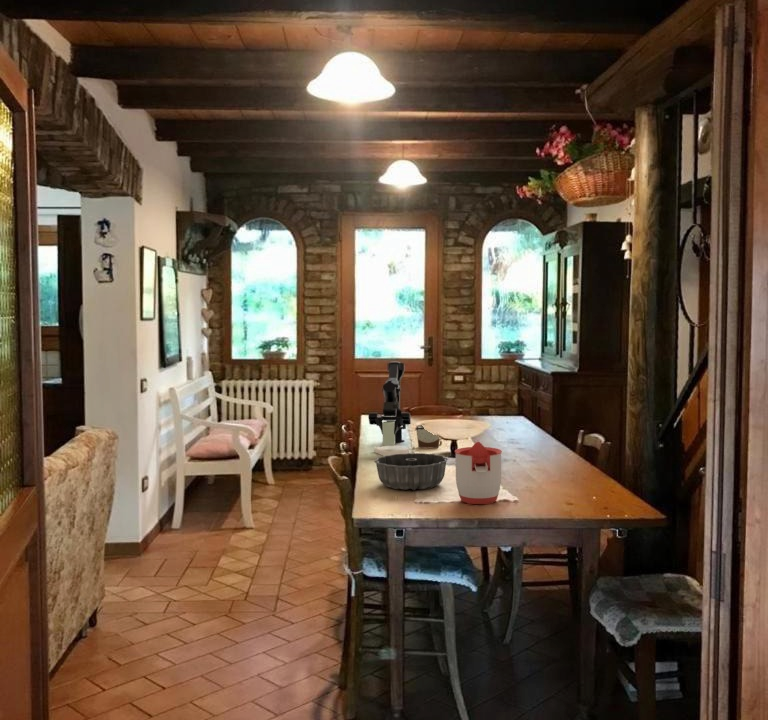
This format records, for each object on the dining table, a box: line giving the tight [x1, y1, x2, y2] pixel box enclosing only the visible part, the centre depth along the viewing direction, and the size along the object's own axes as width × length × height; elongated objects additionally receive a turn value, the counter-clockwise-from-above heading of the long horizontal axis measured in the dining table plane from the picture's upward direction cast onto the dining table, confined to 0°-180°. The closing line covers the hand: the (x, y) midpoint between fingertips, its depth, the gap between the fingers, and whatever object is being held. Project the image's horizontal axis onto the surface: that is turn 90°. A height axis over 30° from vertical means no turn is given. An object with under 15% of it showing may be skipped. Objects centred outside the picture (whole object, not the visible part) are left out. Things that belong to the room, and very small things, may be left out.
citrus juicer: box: [454, 441, 502, 505], centre depth 259 cm, size 16×17×20 cm
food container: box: [414, 424, 441, 447], centre depth 366 cm, size 12×6×10 cm, turn 84°
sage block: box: [382, 421, 396, 447], centre depth 348 cm, size 5×5×10 cm
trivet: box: [373, 444, 410, 457], centre depth 351 cm, size 12×12×2 cm
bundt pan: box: [374, 452, 448, 491], centre depth 285 cm, size 26×26×10 cm
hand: (388, 433), depth 347 cm, fingers closed on sage block, 5 cm apart
